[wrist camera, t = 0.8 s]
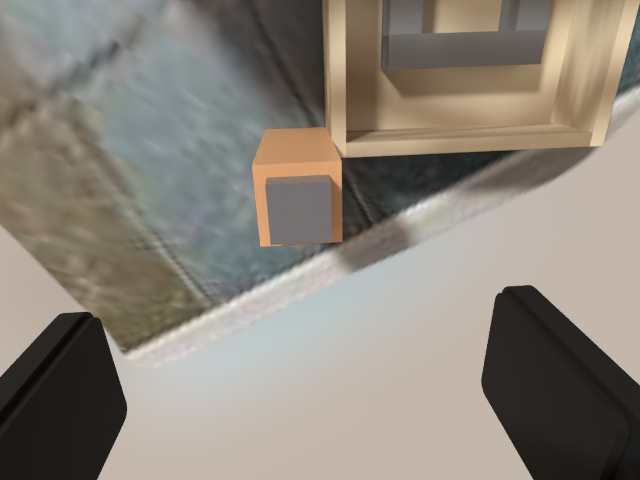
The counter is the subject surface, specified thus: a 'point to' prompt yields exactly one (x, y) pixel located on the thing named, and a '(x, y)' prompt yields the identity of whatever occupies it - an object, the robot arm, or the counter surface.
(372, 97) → the walled tray
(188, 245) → the counter surface
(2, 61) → the counter surface
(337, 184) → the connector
